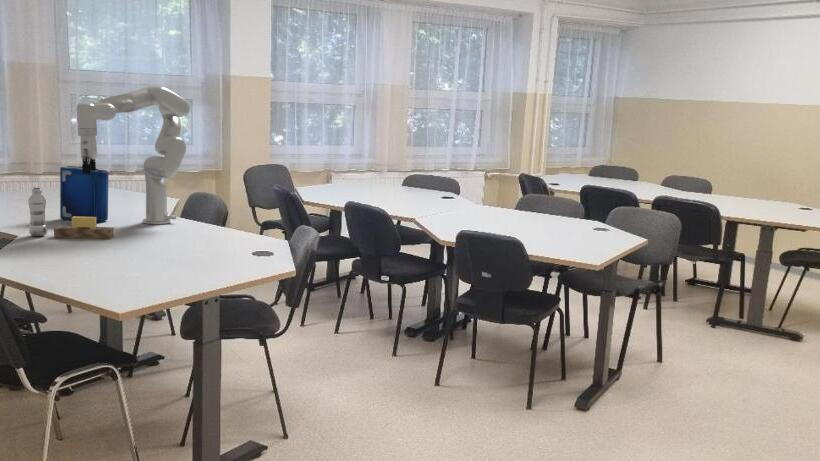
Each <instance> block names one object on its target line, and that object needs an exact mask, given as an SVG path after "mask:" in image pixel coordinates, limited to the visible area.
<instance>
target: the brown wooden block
mask: <svg viewBox="0 0 820 461" xmlns="http://www.w3.org/2000/svg"><path fill="white" fill-rule="evenodd" d="M114 228H115V227H113V226H97V229H90V227H79V229H75V228H72V225H57V226H55V227H54V228H53V238H54V239H80V240H81V239H83V240H85V239H86V240H111V239H113V238H114V236H115V232H114V231H115V229H114Z"/></svg>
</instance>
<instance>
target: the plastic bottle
mask: <svg viewBox="0 0 820 461" xmlns="http://www.w3.org/2000/svg"><path fill="white" fill-rule="evenodd" d="M42 193H43V188H42V187H32V188H31V195H30V196H29V198H28V200H27V202H28V208H29V216H30V217H29V218H30V219H29V220H30V221H29V222H30V223H29V224H30V225H29V230H28V231H29V233H30V235H31V236H32V237H43V236H46V235H47V234H48V227H47V226H48V225H47V223H46V205H47V204H46V202H47V201H46V198H45V196H44V195H43V194H42Z"/></svg>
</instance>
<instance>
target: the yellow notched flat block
mask: <svg viewBox="0 0 820 461" xmlns="http://www.w3.org/2000/svg"><path fill="white" fill-rule="evenodd" d="M97 224H98V223H97V222H96V217H77V216H73V217H72V220H71V226H72V228H75V229H79V227H90V229H97V227H98V225H97Z"/></svg>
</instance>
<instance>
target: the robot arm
mask: <svg viewBox="0 0 820 461" xmlns="http://www.w3.org/2000/svg"><path fill="white" fill-rule="evenodd" d="M152 106H158V110H159V112H160V114H161V118H162V120H163V121H162V127H161V129H160V131H159V134H158V135H157V136H158V137H157V138H156V140H155V144H154V150H155V152H156V153H157V154H158V156H157V155H152V156H149V157H147V158H146V159H145V160H144V162H143V165H142V166H143V168H142V169H143V173H144V179H145V180H144V181H145V218H143V219H142V223H143V224H146V225H166V224H170V223H171V220H177V215H175V214H173V215H171V214H169V212H168V191H167V190H168V185H167V181H166V179H172V178H173V177H175V176H176V175H177V173H178V172H179V170H180V167H181V165H182V162H183V159H184V158H185V155H186V152H187V144H186V141H185V140H184V139H183V138H182V137H180V135H181V131H182V123H181V119H180V118H184V117H186V116H187V115H188V114H189V112H190V111H191V110H190V104H189V103H188V101H187V100H186V99H185V98H183V97H182V96H180V95H178V94H177V93H175V92H173V91H172V90H170V89H168V88H166V87H164V86H155V85H151V86H146V87H142V88H140V89H136V90H133V91H130V92H126V93H121V94H118V95H114V96H109V97H104V98H100V99H97V100H94V101H91V102H82V103H81V102H79V103H77V104H76V124H77V136H78V137H80V138H79V139H80V140H79V141H80V143H79V144H80V157H81V160H82V161H81V165H82V166H81V167H82V171H83V174H90V173H91V171H96V169H97V164H96V158H98V156H99V155H98V145H97V137H98V129H97V128H98V126H97V120H99V121H100V120H101V121H111V120H113V119H115V117H116V115H117V114H119V113H125V114H126V113H132V112H133V113H134V112H137V111H140V110H142V109H145V108H146V109H147V108H149V107H152ZM159 155H161V156H159Z"/></svg>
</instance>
